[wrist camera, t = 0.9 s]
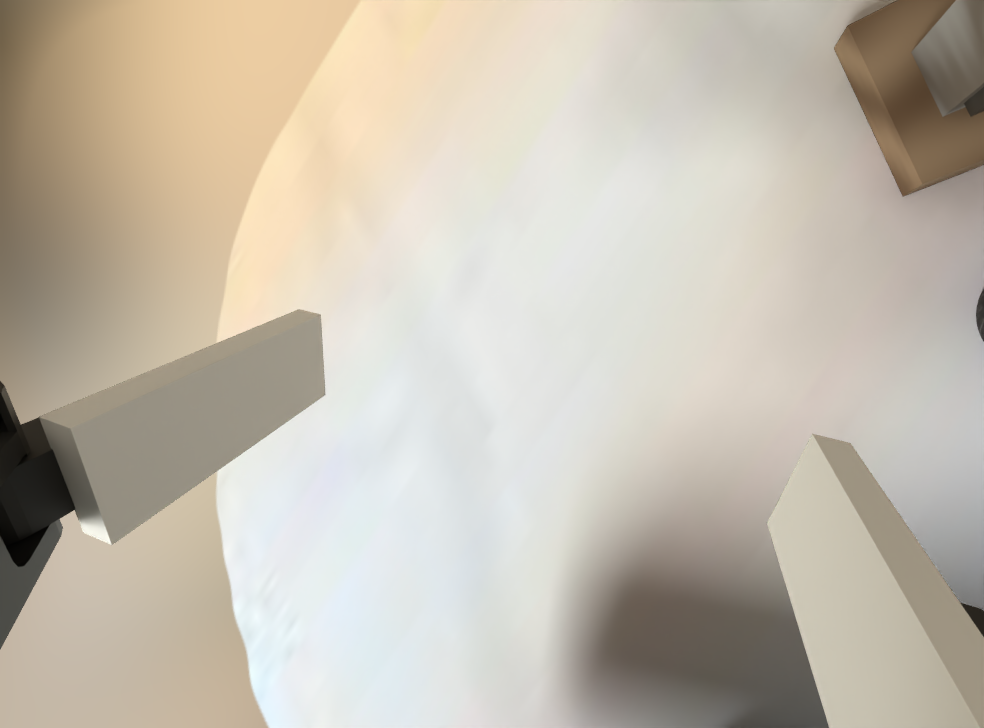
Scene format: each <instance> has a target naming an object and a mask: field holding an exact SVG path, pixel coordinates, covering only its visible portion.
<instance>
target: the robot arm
mask: <svg viewBox="0 0 984 728" xmlns="http://www.w3.org/2000/svg"><path fill="white" fill-rule="evenodd" d="M324 395H325V379H324V362H323V344H322V327H321V315H320V314H316V313H312V312H308V311H304V310H300V309H299V310H296V311H294V312H291V313H289V314H286V315H284V316H282V317H279V318H277V319H274V320H272V321H269V322H267V323H265V324H262V325H260V326H257V327H255V328H253V329H250V330H248V331H245V332H243V333H240V334H238V335H236V336H233V337H231V338H228V339H226V340H223V341H221V342H219V343H216V344H214V345H212V346H209V347H206V348H204V349H202V350H199V351H197V352H195V353H192V354H190V355H188V356H185V357H182V358H180V359H177V360H175V361H173V362H170V363H168V364H165V365H163V366H161V367H158V368H156V369H153V370H151V371H148V372H146V373H143V374H141V375H139V376H136V377H134V378H131V379H129V380H127V381H124V382H122V383H119V384H117V385H114V386H112V387H110V388H107V389H105V390H102V391H100V392H97V393H95V394H93V395H90V396H88V397H85V398H83V399H81V400H78V401H76V402H73V403H71V404H68V405H66V406H64V407H61V408H59V409H56V410H54V411H51V412H49V413H47V414H44V415H42V416H39V418H37V419H34V420H32V421H29V422H27V423H24V424H22V425H20V422H19V420H18V417H17V415H16V412H15V410H14V408H13V405H12V403H11V401H10V398H9V396H8V393H7V391H6V388H5V386H4V385H3V384H2V383H1V381H0V649H1V647H2V645H3V643H4V641H5V640H6V638H7V636H8V634H9V632H10V630H11V628H12V627H13V624H14V623H15V621H16V619H17V617H18V615H19V614H20V612H21V610H22V608H23V606H24V604H25V602H26V600H27V599H28V597H29V595H30V593H31V591H32V589H33V587H34V585H35V584H36V582H37V580H38V578H39V576H40V574H41V572H42V571H43V569H44V567H45V565H46V563H47V561H48V559H49V557H50V556H51V554H52V552H53V550H54V548H55V546H56V544H57V543H58V541H59V539H60V537H61V534H62V529H63V527H62V524H61V522H60V520H59V519H60V518H62V517H63V516H65V515H67V514H68V513H70V512H72V511H73V510H75V512H76V515H77V517H78V520H79V522H80V525H81V527H82V530H83V532H84V533H86V534H88V535H90V536H92V537H95V538H97V539H99V540H102V541H104V542H106V543H108V544H111V545H113V544H114V543H116V542H117V541H118V540H120V539H121V538H123V537H124V536H125V535H127V534H128V533H130V532H131V531H133V530H134V529H135V528H137V527H138V526H140V525H141V524H143V523H144V522H145V521H147V520H148V519H150V518H151V517H152V516H154V515H155V514H157V513H158V512H159V511H161V510H162V509H164V508H165V507H167V506H168V505H170V504H171V503H172V502H174V501H175V500H177V499H178V498H179V497H181V496H182V495H184V494H185V493H187V492H188V491H189V490H191V489H192V488H194V487H195V486H197V485H198V484H199V483H201V482H202V481H204V480H205V479H206V478H208V477H209V476H211V475H212V474H214V473H215V472H216V471H218V470H219V469H221V468H222V467H224V466H225V465H226V464H228V463H229V462H231V461H232V460H233V459H235V458H236V457H238V456H239V455H241V454H242V453H243V452H245V451H246V450H248V449H249V448H251V447H252V446H253V445H255V444H256V443H258V442H259V441H260V440H262V439H263V438H265V437H266V436H268V435H269V434H270V433H272V432H273V431H275V430H276V429H278V428H279V427H280V426H282V425H283V424H285V423H286V422H287V421H289V420H290V419H292V418H293V417H295V416H296V415H297V414H299V413H300V412H302V411H303V410H305V409H306V408H307V407H309V406H310V405H312V404H313V403H314V402H316V401H317V400H319V399H320V398H322V397H323V396H324ZM767 525H768V528H769V532H770V535H771V538H772V541H773V545H774V548H775V551H776V555H777V558H778V561H779V564H780V568H781V571H782V574H783V578H784V581H785V584H786V587H787V591H788V594H789V597H790V601H791V604H792V607H793V610H794V614H795V617H796V620H797V624H798V627H799V630H800V633H801V637H802V640H803V643H804V647H805V650H806V653H807V656H808V660H809V663H810V666H811V670H812V673H813V676H814V679H815V683H816V686H817V689H818V692H819V696H820V699H821V702H822V706H823V709H824V712H825V715H826V719H827V722H828V725H829V728H984V611H983V610H982V609H979V608H976V607H972V606H969V605H966V604H962V603H960V602H959V601H958V599H957V598H956V596H955V595H954V593H953V592H952V590H951V589H950V587H949V586H948V585H947V583H946V582H945V580H944V579H943V577H942V576H941V574H940V573H939V571H938V570H937V569H936V567H935V566H934V564H933V563H932V561H931V560H930V558H929V557H928V555H927V554H926V553H925V551H924V550H923V548H922V547H921V545H920V544H919V542H918V541H917V539H916V538H915V537H914V535H913V534H912V532H911V531H910V529H909V528H908V526H907V525H906V523H905V522H904V521H903V519H902V518H901V516H900V515H899V513H898V512H897V510H896V509H895V507H894V506H893V505H892V503H891V502H890V500H889V499H888V497H887V496H886V494H885V493H884V491H883V490H882V489H881V487H880V486H879V484H878V483H877V481H876V480H875V478H874V477H873V475H872V474H871V473H870V471H869V470H868V468H867V467H866V465H865V464H864V462H863V461H862V459H861V458H860V456H859V455H858V454H857V452H856V451H855V449H854V448H853V446H852V445H851V443H848V442H844V441H839V440H835V439H831V438H827V437H823V436H819V435H815V434H812V436H811V437H810V439H809V441H808V443H807V445H806V447H805V449H804V451H803V453H802V455H801V457H800V459H799V461H798V463H797V465H796V467H795V469H794V471H793V473H792V475H791V477H790V479H789V481H788V483H787V485H786V487H785V489H784V491H783V493H782V495H781V497H780V499H779V501H778V503H777V505H776V507H775V509H774V511H773V513H772V514H771V516H770V518H769V520H768V522H767Z"/></svg>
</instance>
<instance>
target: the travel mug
mask: <svg viewBox="0 0 984 728" xmlns="http://www.w3.org/2000/svg"><path fill="white" fill-rule="evenodd" d="M976 318H977V326H978V330H979V333H980V335H981V337H982V339H983V341H984V290H983V292H982V294H981V296H980V298H979V302H978V305H977V313H976Z"/></svg>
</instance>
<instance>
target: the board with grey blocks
mask: <svg viewBox="0 0 984 728" xmlns="http://www.w3.org/2000/svg"><path fill="white" fill-rule="evenodd" d="M834 49H835V52H836V54H837V56H838V58H839V60H840V62H841V65H842V67H843V69H844V71H845V73H846V75H847V77H848V80H849V82H850V84H851V86H852V88H853V90H854V92H855V95H856V97H857V99H858V101H859V103H860V105H861V107H862V110H863V112H864V114H865V116H866V118H867V120H868V122H869V125H870V127H871V129H872V131H873V133H874V135H875V137H876V140H877V142H878V144H879V146H880V148H881V150H882V152H883V155H884V157H885V159H886V161H887V163H888V165H889V167H890V170H891V172H892V174H893V176H894V178H895V180H896V182H897V185H898V187H899V189H900V191H901V193H902V195H903V196H906V195H908V194H911V193H913V192H916V191H919V190H921V189H924V188H926V187H929V186H931V185H934V184H936V183H939V182H941V181H944V180H947V179H949V178H952V177H954V176H957V175H959V174H962V173H964V172H967V171H969V170H972V169H975V168H977V167H980V166H982V165H984V0H897V1H895V2H893V3H891V4H889V5H888V6H886V7H884V8H882V9H880V10H878V11H876V12H874V13H872V14H870V15H868V16H866V17H864V18H862V19H860V20H858V21H856V22H854V23H852V24H850V25H848V26H847V28H846V29H845V31H844V33H843V34H842V36H841V38H840V39H839V41H838V43H837V44H836V46H835V48H834Z"/></svg>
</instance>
